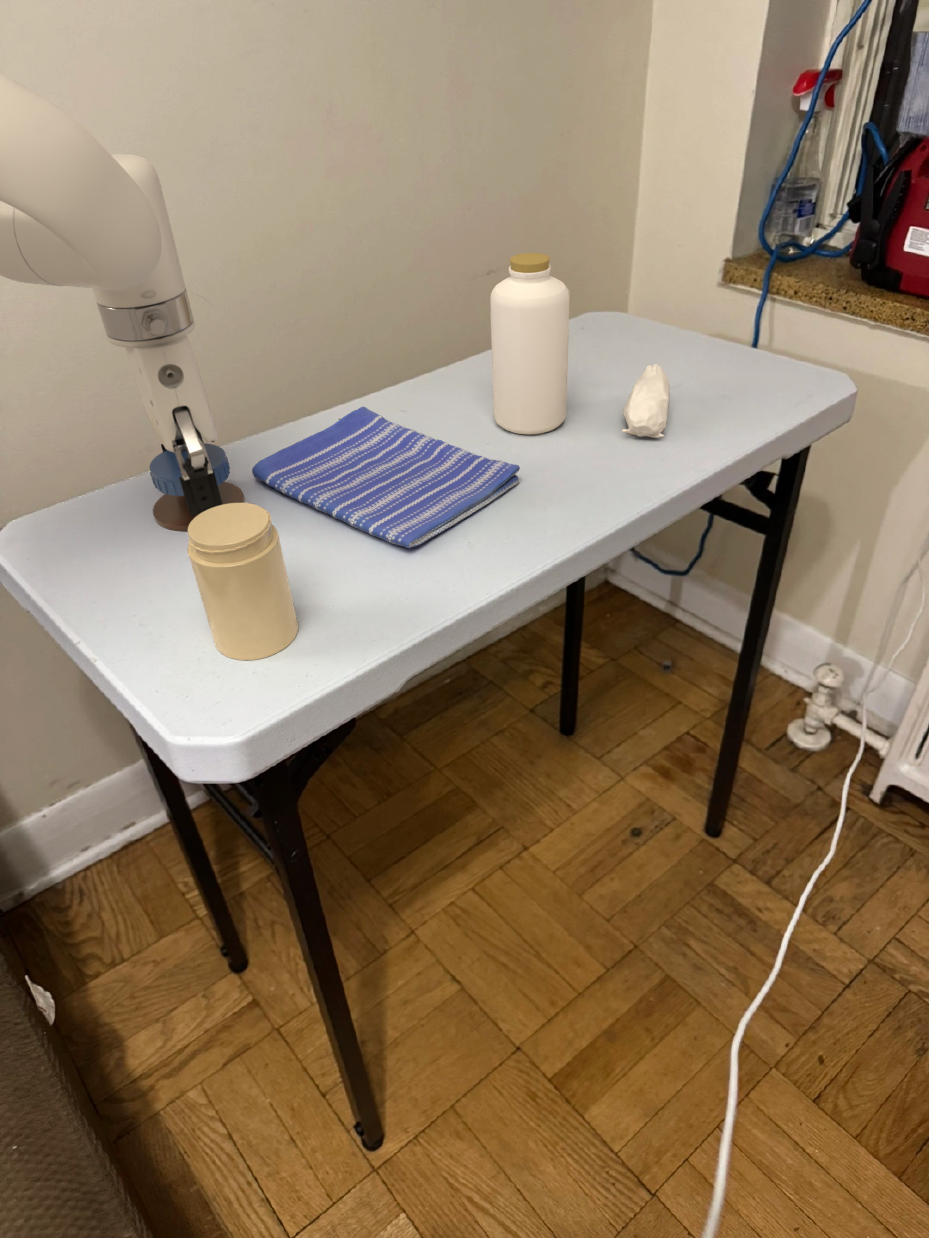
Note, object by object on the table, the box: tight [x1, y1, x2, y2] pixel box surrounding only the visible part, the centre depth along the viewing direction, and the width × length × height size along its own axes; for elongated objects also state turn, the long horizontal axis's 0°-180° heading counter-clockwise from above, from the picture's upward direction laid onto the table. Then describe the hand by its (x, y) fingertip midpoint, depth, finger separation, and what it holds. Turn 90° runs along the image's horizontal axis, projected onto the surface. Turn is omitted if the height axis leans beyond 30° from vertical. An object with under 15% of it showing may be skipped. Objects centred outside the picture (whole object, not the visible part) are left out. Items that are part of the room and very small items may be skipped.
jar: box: [187, 502, 299, 661], centre depth 68 cm, size 7×7×11 cm
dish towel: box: [251, 406, 521, 549], centre depth 89 cm, size 17×24×3 cm
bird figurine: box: [621, 362, 671, 439], centre depth 96 cm, size 5×7×10 cm
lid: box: [149, 442, 231, 496], centre depth 85 cm, size 7×7×2 cm
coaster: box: [152, 481, 246, 532], centre depth 87 cm, size 9×9×1 cm
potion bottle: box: [489, 252, 571, 435], centre depth 94 cm, size 8×8×18 cm
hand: (196, 491), depth 86 cm, fingers closed on lid, 7 cm apart
